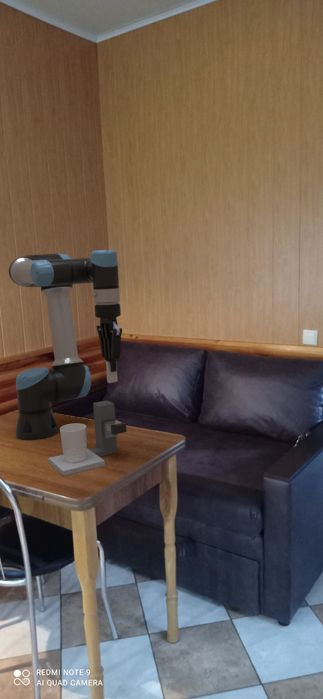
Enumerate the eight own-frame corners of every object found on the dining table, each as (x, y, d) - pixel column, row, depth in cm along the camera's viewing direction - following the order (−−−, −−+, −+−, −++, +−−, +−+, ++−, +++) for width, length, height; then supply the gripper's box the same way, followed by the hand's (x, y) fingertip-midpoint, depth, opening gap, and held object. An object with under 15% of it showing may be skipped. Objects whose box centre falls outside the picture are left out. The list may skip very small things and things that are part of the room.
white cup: (80, 452, 167) (78, 421, 165) (93, 458, 161) (91, 427, 159) (57, 459, 162) (55, 427, 161) (70, 465, 156) (67, 433, 154)
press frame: (48, 462, 164) (44, 412, 161) (110, 447, 174) (107, 400, 172) (63, 476, 153) (59, 422, 150) (128, 459, 163) (125, 408, 160)
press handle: (103, 436, 166) (101, 420, 165) (115, 433, 168) (114, 417, 168) (114, 443, 159) (112, 426, 159) (127, 440, 162) (126, 423, 161)
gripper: (86, 303, 160) (92, 380, 164) (105, 305, 149) (110, 387, 153) (109, 301, 164) (114, 376, 168) (128, 303, 153) (133, 383, 156)
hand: (112, 381), depth 160 cm, fingers closed
